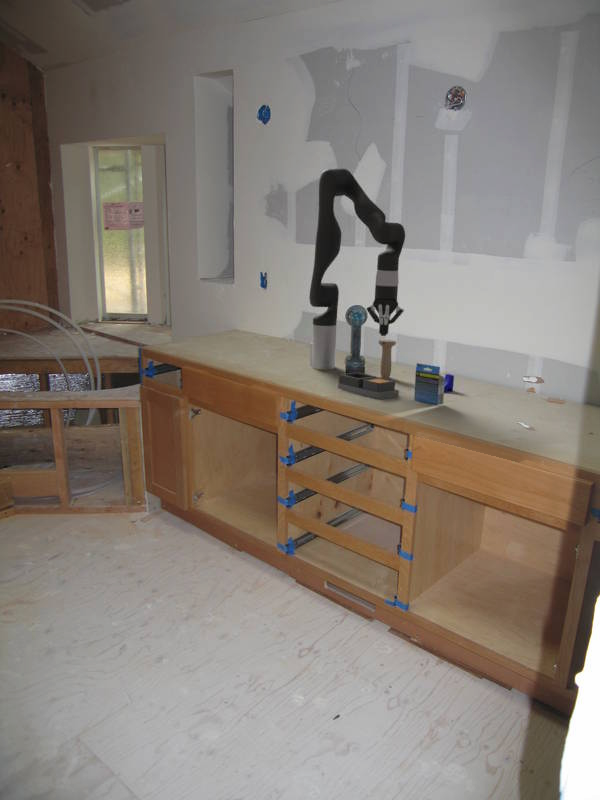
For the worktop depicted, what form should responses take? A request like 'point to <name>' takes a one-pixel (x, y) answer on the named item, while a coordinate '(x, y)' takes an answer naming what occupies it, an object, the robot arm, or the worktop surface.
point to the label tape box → (429, 384)
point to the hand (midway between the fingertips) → (383, 335)
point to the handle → (386, 357)
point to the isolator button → (378, 380)
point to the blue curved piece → (448, 383)
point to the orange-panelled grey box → (367, 385)
